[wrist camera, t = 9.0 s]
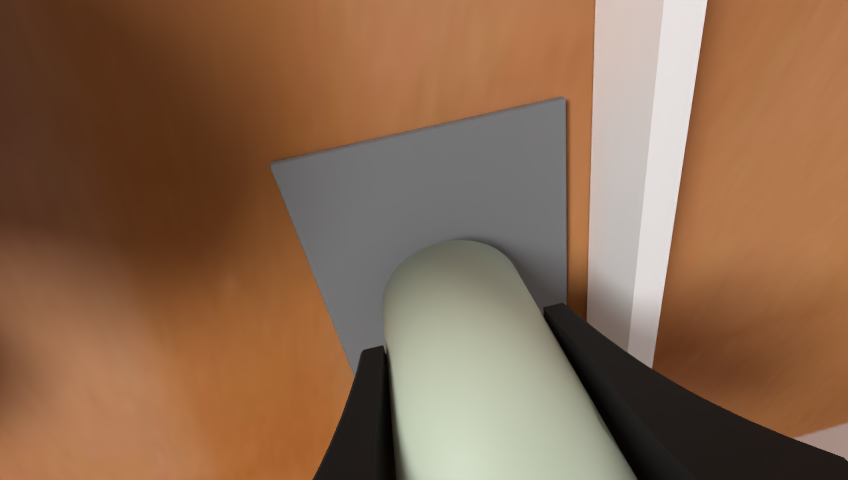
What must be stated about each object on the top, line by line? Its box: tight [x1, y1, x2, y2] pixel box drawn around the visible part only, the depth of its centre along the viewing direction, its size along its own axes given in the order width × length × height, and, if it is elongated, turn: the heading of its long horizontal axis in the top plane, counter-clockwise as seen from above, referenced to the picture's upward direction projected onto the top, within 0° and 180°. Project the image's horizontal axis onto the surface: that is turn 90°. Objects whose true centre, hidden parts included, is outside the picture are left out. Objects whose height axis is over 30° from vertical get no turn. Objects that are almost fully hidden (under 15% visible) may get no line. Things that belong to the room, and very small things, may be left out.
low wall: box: [587, 0, 707, 369], centre depth 15 cm, size 4×26×3 cm, turn 11°
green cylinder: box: [382, 240, 637, 480], centre depth 12 cm, size 5×5×8 cm
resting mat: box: [270, 97, 567, 377], centre depth 16 cm, size 9×12×1 cm
